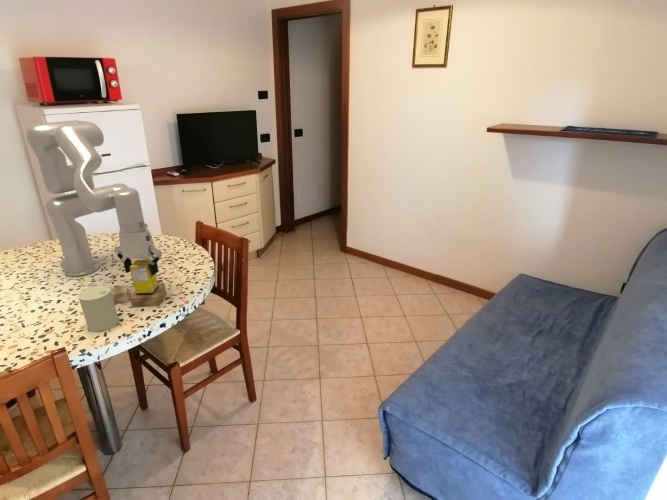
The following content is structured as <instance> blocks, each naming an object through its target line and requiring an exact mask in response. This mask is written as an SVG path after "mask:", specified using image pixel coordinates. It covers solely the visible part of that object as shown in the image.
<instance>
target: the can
mask: <svg viewBox="0 0 667 500" xmlns="http://www.w3.org/2000/svg"><path fill="white" fill-rule="evenodd" d="M111 288H112V287H110V286H107V285H96V286H91V287H88V288H86V289H84V290H83V291H81V292H79V293H78V296H77V298H78V301H79V302H80V303H79V304H80V307H81V310H82V314H83V317H84V319H85V323H86V329H87V330H88V331H90V332H94V333H97V332H104V331H108V330H110V329H111V328H114V327H115V326H117V324H119V322H120V317H119V315H118V313H117V309H116V304H114V301H113V297H112V293H111Z"/></svg>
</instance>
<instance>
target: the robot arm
mask: <svg viewBox="0 0 667 500" xmlns="http://www.w3.org/2000/svg"><path fill="white" fill-rule="evenodd" d="M26 139H27V142H28V144H29V146H30V148H31V150H32V151H33V153H34V154H35V156H36V158H37V161H38V164H39V168H40V173H41V177H42V180H43V184H44V185H45V188H46V190H47V191H48V192H49V193H51V194H53V195H55V194H56V195H57V194H62V195H58V196H54V197H51V198H50V199H48V200H47V201H46V203H45V209H46V212H47V215H48V217H49V219H50V220H51V223H52V224H53V227H54V229H55V232H56V234H57V238H58V241H59V244H60V249H61V252H62V254H63V257H64V258H62V259H61V262H60V263H59V266H61V267H65V269H64V270H63V274H64V275H65V276H66V277H70V278H71V277H72V278H74V277H76V278H77V277H83V276H87V275H90V274H93V273H95V272H96V271H98V270H99V268H100V264H99V262H98V261H97V262H96V261H94V258H93V253H92V250H91V246H90V244H89V240H88V235H87V233H86V230H85V227H84V226H83V225H82V223H80V222H78V221H77V220H76V219H78V218H82V217H85V216H88V215H92V214H95V213H103V212H105V211H110V210H113V209H115V212H116V217H117V221H118V226H119V229H120V230H119V233H118V239H119V246H117V247H115V248H114V249H113V252H114V253H115V254H116V255H117V258H119V259H120V261H121V263H123V267H124V271H125V273H126V274H127V273H131V271H130V266H131V265H132V264H133V263H132V259H133V260H147V261H148V262H149V263H150V264H151V265H150V270H151V275H155V274H156V275H157V273H158V272H159V266H158V262H159V261H160V260H161V259H162V255H163V252H162V250H160V249H158V248H156V247H155V244H154V240H153V238H152V235H151V232H150V230H149V228H148V227H149V226H148V224H147V223H145V219H144V215H143V208H142V203H141V198H140V194H139V191H138V190H137V189H136V188H132V187H129V186H128V185H127V184H125V183H121V182H119V183H114V184H111V185H104V186H100V187H97V188H96V187H95V184H94V179H93V176H92V174H93V173H94V172H96V171H97V170H98V169H99V168H100V167H101V166H102V162H103V159H102V157H101V155H100V154H99V152H98V151H97V150H96V147H101V146H103V143H104V142H105V138H104V134H103V131H102V129H101V128H100V127H99V126H98V125H97V124H96V123H93V122H91V121H84V120H79V119H78V120H77V119H76V120H75V119H74V120H63V121H50V122H41V123H35V124H32V125H30V126H29V127H27V129H26ZM66 157H67V158H66ZM67 159H68V160H69V161H70V163H71V164H70V165H69V164H68V163H67ZM73 191H75V192H73ZM68 192H71V193H68ZM64 193H65V194H64ZM66 193H67V194H66ZM152 259H153V260H152Z"/></svg>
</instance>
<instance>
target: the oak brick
mask: <svg viewBox="0 0 667 500" xmlns="http://www.w3.org/2000/svg"><path fill="white" fill-rule="evenodd" d="M110 288H111V293H112V297H113V301H114V304H115V305H118V304H124V303H128V302H130V294H131V293H130V291H129V286H128V284H124V285H119V286H113V287H110Z"/></svg>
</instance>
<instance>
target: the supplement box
mask: <svg viewBox="0 0 667 500" xmlns="http://www.w3.org/2000/svg"><path fill="white" fill-rule="evenodd" d="M151 259H152V258H151ZM152 260H153V259H152ZM150 265H151V264H150V263H149V262H148V261H147V260H144V259H135V260H134V262H133V263H132V265H131V266H130V274H131V279H132V283H133V288H134V292H136V295H145V294H154V292H155V291H156V289H157V288H158V285H159V283H158V277H157V273H156V274H155V275H151V270H150Z"/></svg>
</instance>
